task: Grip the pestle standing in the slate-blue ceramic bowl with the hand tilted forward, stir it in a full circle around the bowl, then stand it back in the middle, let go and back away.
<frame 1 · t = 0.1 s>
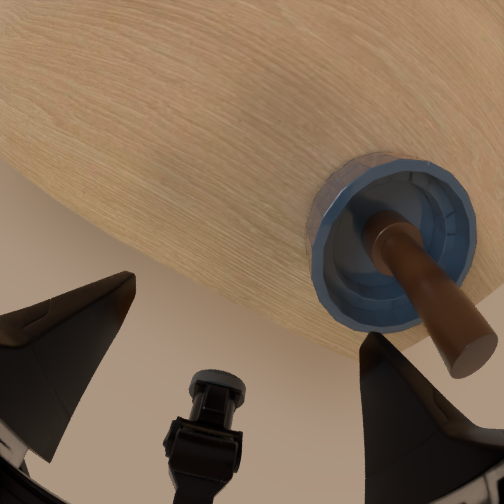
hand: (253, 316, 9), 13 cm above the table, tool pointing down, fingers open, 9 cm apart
bowl: (383, 232, 21), on the table
pestle: (385, 235, 21), point 1 cm above the table, touching bowl
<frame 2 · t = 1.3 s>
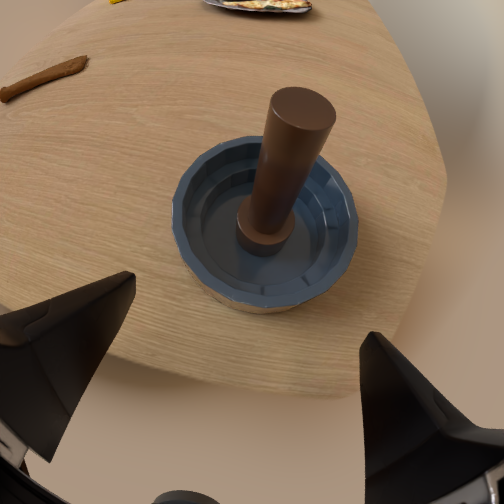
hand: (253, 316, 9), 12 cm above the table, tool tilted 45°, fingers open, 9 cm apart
food plate: (256, 3, 41), on the table
bowl: (260, 234, 24), on the table
primitive tool: (43, 81, 29), on the table
pestle: (261, 231, 23), point 1 cm above the table, touching bowl
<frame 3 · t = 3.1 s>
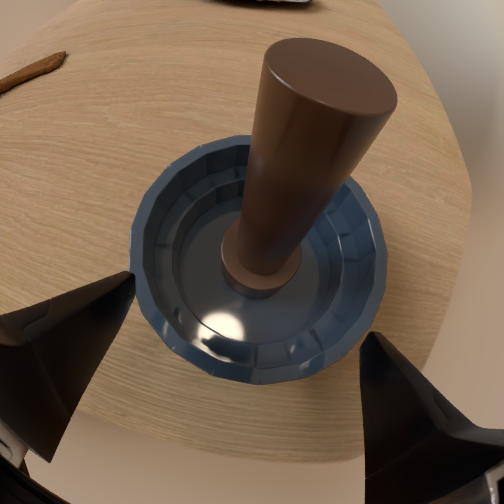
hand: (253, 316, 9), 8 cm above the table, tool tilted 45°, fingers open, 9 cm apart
bowl: (255, 266, 18), on the table
primitive tool: (20, 81, 24), on the table
pestle: (256, 264, 17), point 1 cm above the table, touching bowl
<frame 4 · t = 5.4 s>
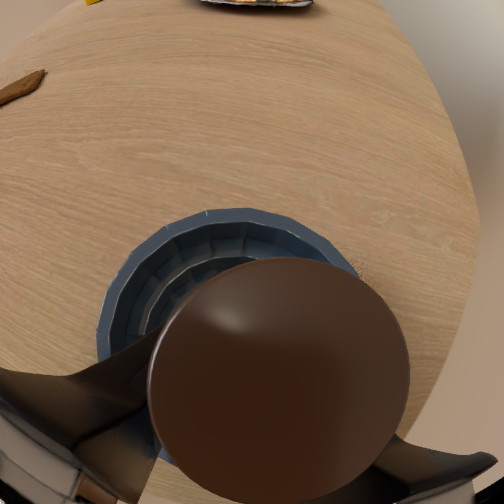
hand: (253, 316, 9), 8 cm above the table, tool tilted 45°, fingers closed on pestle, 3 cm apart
bowl: (235, 346, 16), on the table
primitive tool: (0, 102, 22), on the table
pestle: (236, 347, 16), point 1 cm above the table, touching bowl, gripper
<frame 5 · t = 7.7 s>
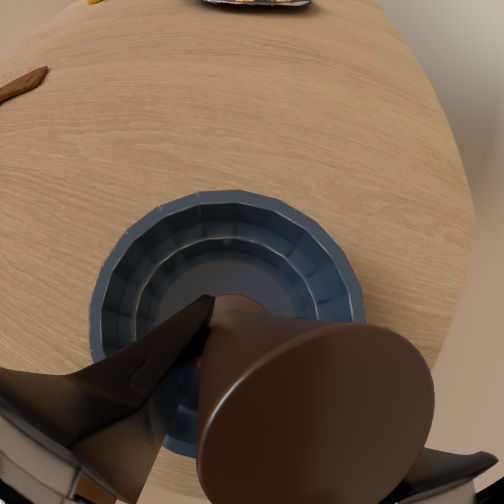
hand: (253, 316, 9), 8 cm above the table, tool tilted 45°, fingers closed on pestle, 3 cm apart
bowl: (226, 329, 16), on the table
primitive tool: (3, 98, 22), on the table
pestle: (227, 332, 16), point 1 cm above the table, tilted 8°, touching gripper
when the fingers open (8 cm above the table, at t = 9.6 s): pestle stays where it is, resting on bowl.
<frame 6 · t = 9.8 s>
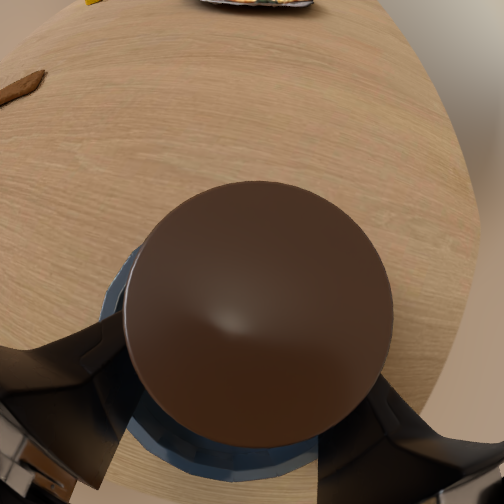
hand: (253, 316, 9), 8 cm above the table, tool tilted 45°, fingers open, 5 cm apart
bowl: (235, 347, 16), on the table
primitive tool: (0, 103, 22), on the table
pestle: (232, 335, 16), point 1 cm above the table, touching bowl
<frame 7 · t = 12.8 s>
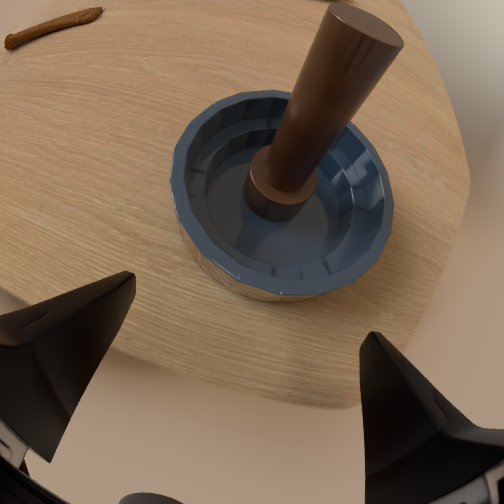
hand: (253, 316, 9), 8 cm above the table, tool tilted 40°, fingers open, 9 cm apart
bowl: (274, 206, 20), on the table
primitive tool: (52, 30, 22), on the table
pestle: (274, 192, 19), point 1 cm above the table, touching bowl
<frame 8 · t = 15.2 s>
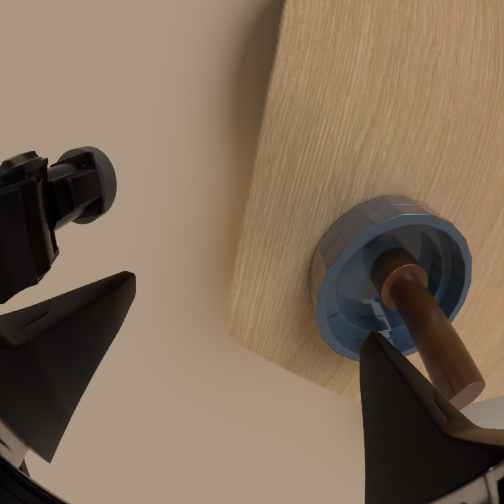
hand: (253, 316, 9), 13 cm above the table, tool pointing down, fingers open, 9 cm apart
bowl: (383, 268, 22), on the table
pestle: (393, 270, 22), point 1 cm above the table, touching bowl
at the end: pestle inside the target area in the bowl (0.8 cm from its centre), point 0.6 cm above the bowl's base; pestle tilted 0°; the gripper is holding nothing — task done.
